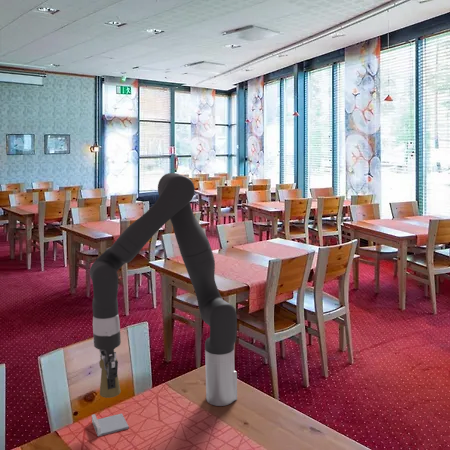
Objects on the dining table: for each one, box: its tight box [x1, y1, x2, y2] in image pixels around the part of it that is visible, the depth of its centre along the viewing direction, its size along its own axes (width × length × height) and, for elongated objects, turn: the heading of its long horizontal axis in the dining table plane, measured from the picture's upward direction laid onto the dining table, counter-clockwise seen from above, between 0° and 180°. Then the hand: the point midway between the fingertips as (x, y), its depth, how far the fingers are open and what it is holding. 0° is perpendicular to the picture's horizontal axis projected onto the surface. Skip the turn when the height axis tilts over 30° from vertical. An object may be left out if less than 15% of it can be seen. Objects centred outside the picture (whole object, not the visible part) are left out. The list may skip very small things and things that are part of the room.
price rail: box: [91, 413, 101, 437], centre depth 147 cm, size 1×8×2 cm, turn 25°
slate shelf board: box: [97, 413, 129, 437], centre depth 149 cm, size 8×8×1 cm
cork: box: [98, 357, 122, 399], centre depth 146 cm, size 6×6×11 cm
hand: (109, 385), depth 147 cm, fingers closed on cork, 4 cm apart
